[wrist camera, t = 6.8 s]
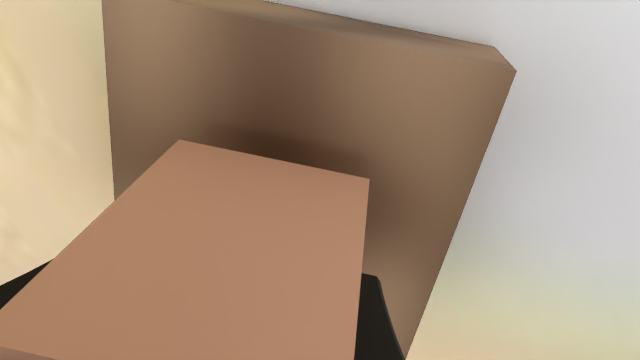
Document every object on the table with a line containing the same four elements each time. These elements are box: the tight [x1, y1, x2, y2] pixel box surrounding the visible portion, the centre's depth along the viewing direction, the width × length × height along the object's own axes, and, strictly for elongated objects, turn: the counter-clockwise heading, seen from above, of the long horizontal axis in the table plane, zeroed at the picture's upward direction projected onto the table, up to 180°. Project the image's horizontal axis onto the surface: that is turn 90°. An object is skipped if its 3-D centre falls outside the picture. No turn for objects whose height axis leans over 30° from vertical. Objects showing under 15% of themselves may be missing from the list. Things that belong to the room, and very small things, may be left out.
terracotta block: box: [0, 139, 370, 360], centre depth 9 cm, size 4×4×6 cm
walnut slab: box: [102, 0, 517, 359], centre depth 14 cm, size 10×10×3 cm
